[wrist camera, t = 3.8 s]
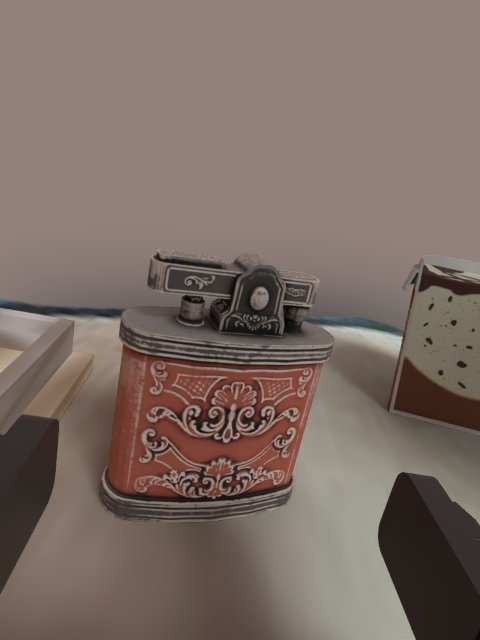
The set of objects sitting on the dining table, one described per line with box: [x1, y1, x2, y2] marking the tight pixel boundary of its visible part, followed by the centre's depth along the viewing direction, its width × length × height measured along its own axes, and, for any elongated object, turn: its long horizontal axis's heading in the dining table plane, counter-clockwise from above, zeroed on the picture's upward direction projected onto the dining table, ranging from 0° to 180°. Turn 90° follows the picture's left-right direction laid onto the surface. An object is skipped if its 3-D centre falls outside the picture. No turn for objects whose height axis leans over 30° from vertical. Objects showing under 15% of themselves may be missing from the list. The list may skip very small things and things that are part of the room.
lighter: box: [100, 249, 334, 523], centre depth 17 cm, size 8×3×10 cm, turn 108°
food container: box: [388, 255, 480, 436], centre depth 30 cm, size 12×6×10 cm, turn 80°
